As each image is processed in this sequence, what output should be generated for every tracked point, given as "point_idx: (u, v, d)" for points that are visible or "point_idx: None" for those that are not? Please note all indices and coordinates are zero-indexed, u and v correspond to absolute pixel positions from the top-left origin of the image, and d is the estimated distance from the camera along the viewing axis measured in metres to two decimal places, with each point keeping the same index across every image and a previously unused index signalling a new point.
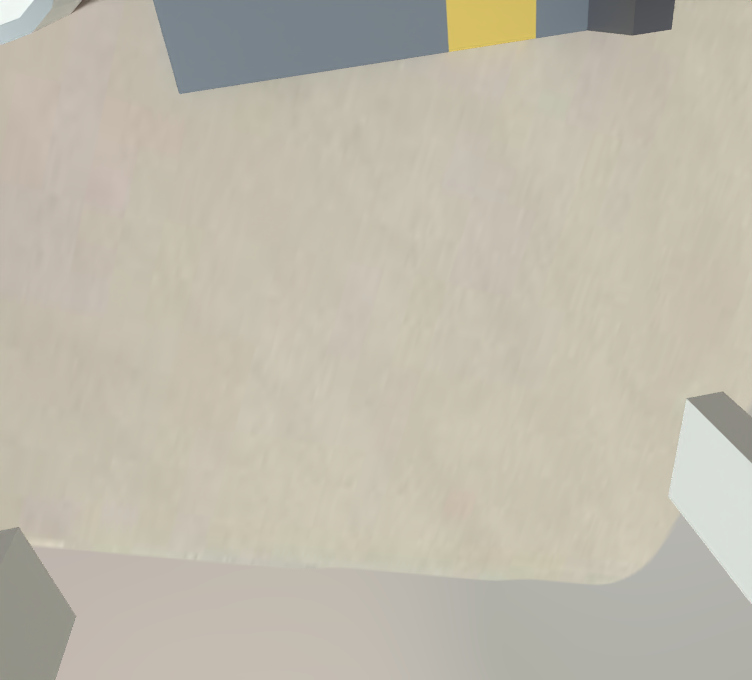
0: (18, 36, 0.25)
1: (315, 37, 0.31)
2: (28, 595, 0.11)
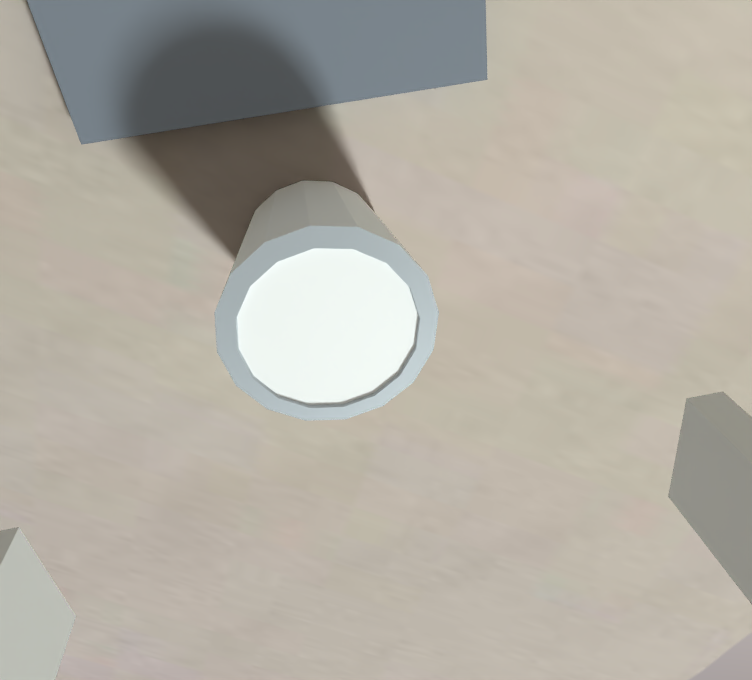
0: (431, 292, 0.18)
1: None
2: (28, 595, 0.11)
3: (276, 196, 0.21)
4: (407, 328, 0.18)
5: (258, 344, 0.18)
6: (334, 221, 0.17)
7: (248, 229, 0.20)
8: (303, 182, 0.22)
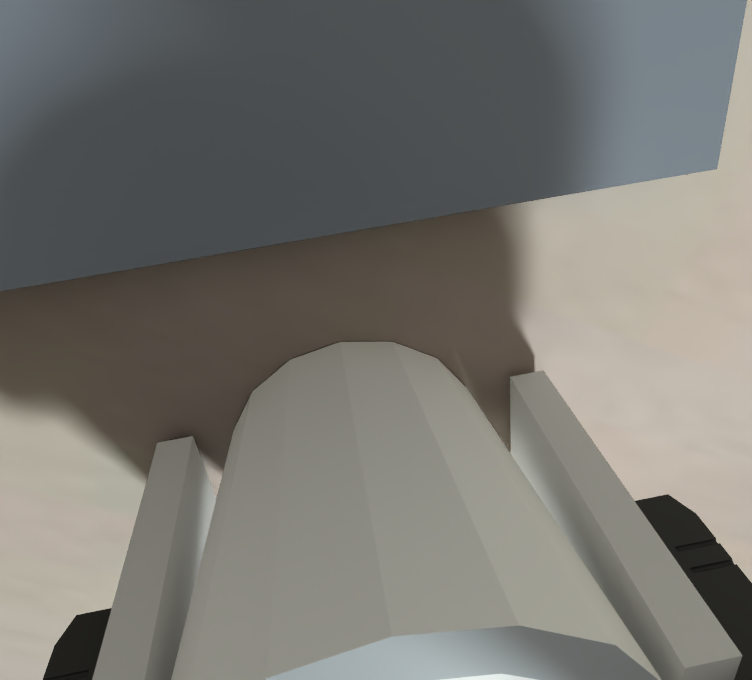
0: None
1: None
2: (202, 494, 0.12)
3: (291, 386, 0.11)
4: None
5: None
6: (447, 584, 0.07)
7: (235, 474, 0.10)
8: (341, 350, 0.12)
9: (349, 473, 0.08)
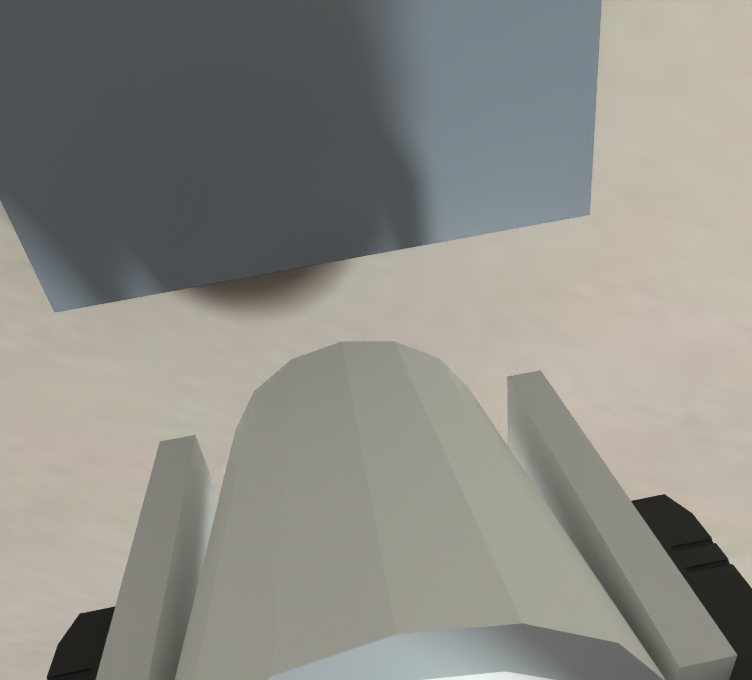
0: None
1: None
2: (205, 493, 0.12)
3: (293, 386, 0.11)
4: None
5: None
6: (451, 582, 0.07)
7: (238, 474, 0.10)
8: (343, 350, 0.12)
9: (352, 472, 0.08)
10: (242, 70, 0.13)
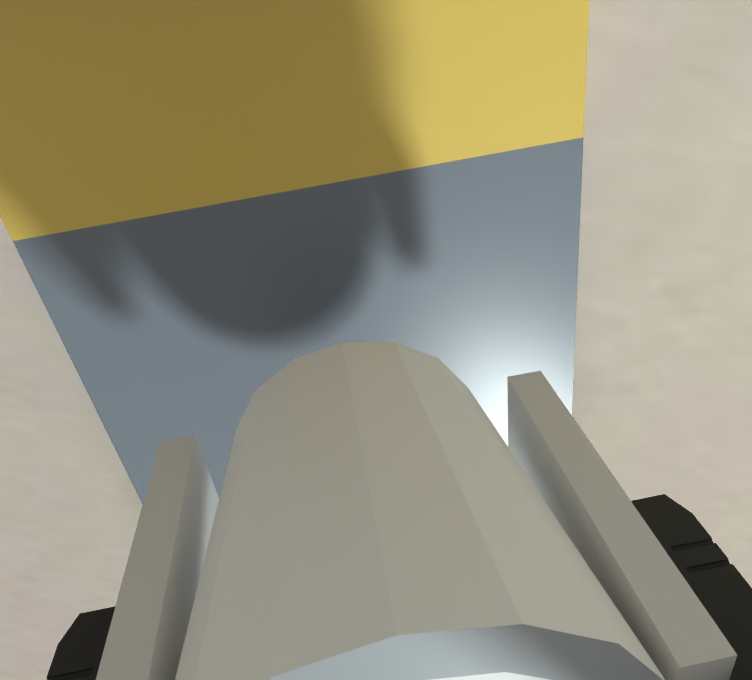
0: None
1: None
2: (204, 493, 0.12)
3: (293, 386, 0.11)
4: None
5: None
6: (451, 583, 0.07)
7: (238, 474, 0.10)
8: (343, 351, 0.12)
9: (352, 473, 0.08)
10: None
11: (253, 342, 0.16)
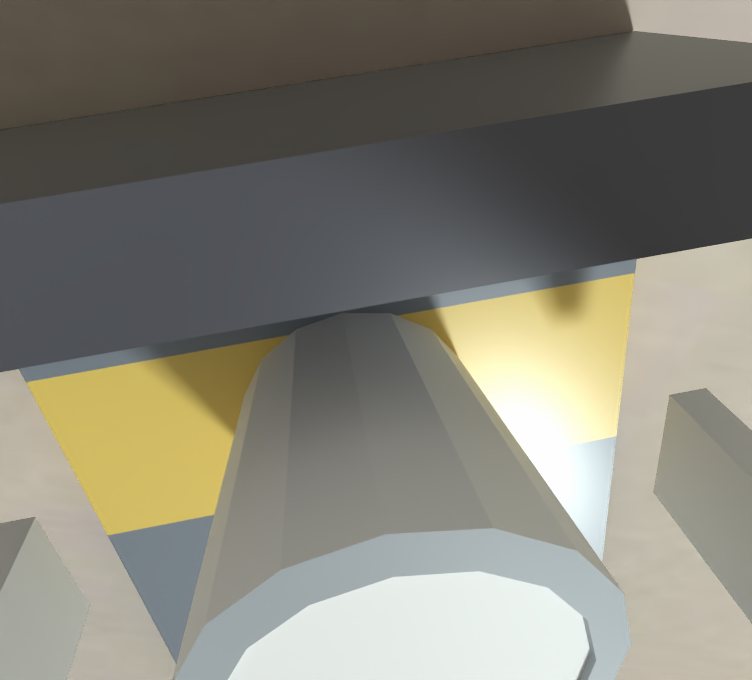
0: (624, 617, 0.09)
1: None
2: (45, 583, 0.11)
3: (297, 351, 0.12)
4: (565, 671, 0.09)
5: None
6: (433, 498, 0.08)
7: (247, 426, 0.11)
8: (343, 320, 0.13)
9: (350, 416, 0.09)
10: None
11: None
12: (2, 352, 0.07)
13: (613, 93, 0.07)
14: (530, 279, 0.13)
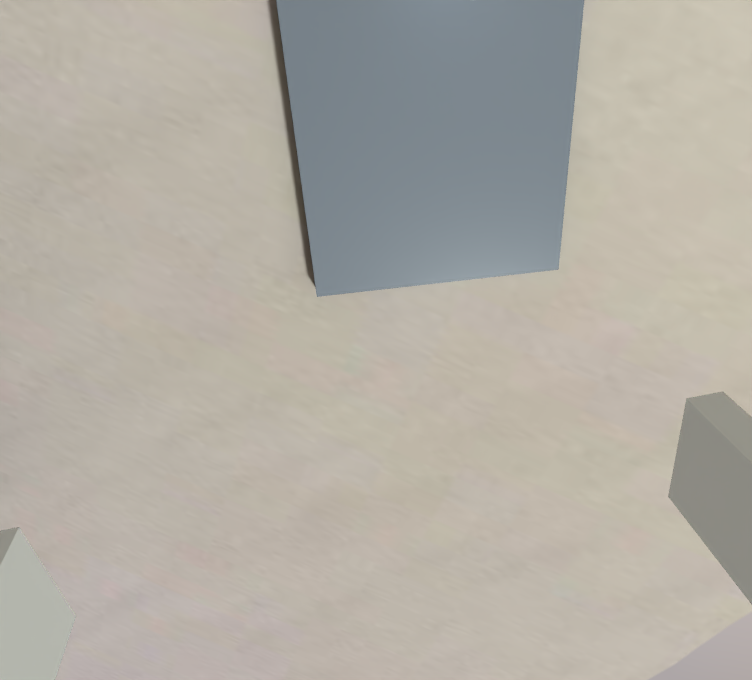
0: None
1: (539, 133, 0.30)
2: (28, 595, 0.11)
3: None
4: None
5: None
6: None
7: None
8: None
9: None
10: (418, 204, 0.31)
11: (388, 76, 0.28)
12: None
13: None
14: None
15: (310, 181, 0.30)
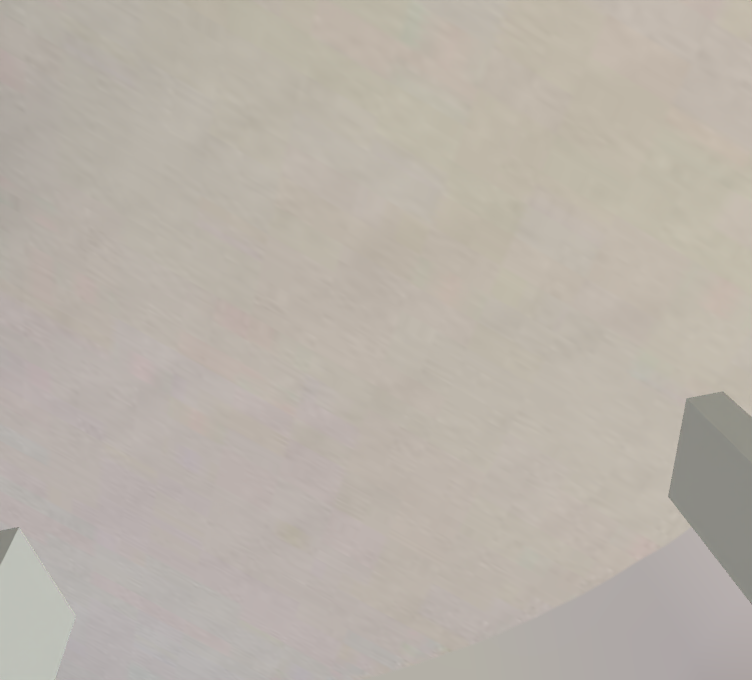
0: None
1: None
2: (28, 595, 0.11)
3: None
4: None
5: None
6: None
7: None
8: None
9: None
10: None
11: None
12: None
13: None
14: None
15: None
